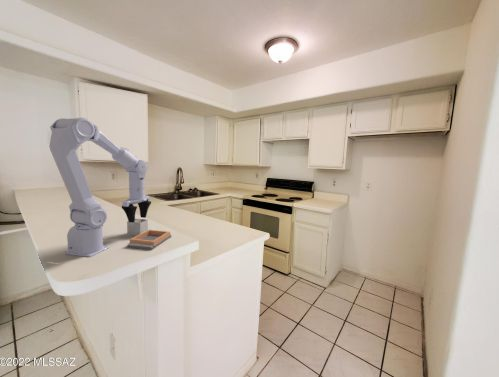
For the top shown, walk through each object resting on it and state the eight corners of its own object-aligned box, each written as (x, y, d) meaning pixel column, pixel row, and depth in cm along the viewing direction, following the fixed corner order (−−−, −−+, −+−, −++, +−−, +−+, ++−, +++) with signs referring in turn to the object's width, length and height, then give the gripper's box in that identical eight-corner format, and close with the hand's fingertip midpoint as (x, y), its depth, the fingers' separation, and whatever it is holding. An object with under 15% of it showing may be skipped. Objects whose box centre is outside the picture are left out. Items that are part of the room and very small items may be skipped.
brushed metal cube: (127, 235, 87) (127, 221, 87) (135, 231, 92) (135, 218, 92) (140, 236, 87) (140, 222, 86) (147, 232, 92) (147, 219, 91)
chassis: (127, 247, 76) (127, 240, 75) (150, 234, 89) (150, 228, 89) (151, 249, 74) (151, 242, 74) (171, 236, 88) (171, 230, 88)
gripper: (133, 191, 79) (134, 225, 81) (155, 187, 94) (156, 216, 95) (117, 190, 80) (118, 223, 82) (141, 186, 95) (142, 215, 96)
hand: (137, 219), depth 89 cm, fingers open, 7 cm apart
